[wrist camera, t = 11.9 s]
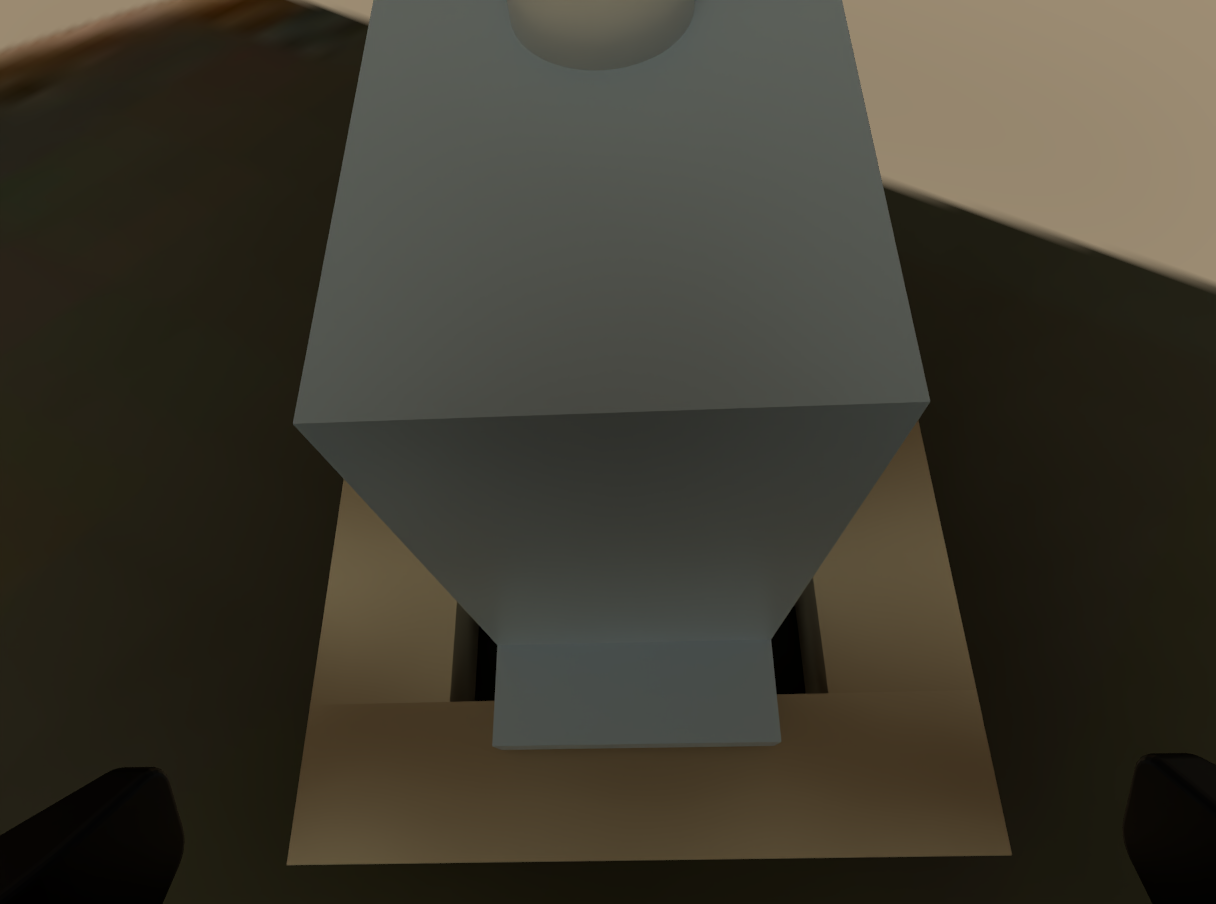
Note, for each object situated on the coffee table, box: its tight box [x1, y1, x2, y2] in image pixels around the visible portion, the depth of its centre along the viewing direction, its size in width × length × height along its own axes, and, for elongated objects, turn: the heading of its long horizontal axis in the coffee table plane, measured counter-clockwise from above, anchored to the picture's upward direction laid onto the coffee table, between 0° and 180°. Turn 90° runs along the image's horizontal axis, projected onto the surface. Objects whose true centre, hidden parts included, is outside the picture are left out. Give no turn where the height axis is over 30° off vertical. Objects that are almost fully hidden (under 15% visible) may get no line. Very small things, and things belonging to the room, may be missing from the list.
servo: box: [293, 0, 930, 750], centre depth 11 cm, size 9×5×12 cm, turn 1°
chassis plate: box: [287, 421, 1012, 865], centre depth 16 cm, size 13×12×2 cm
